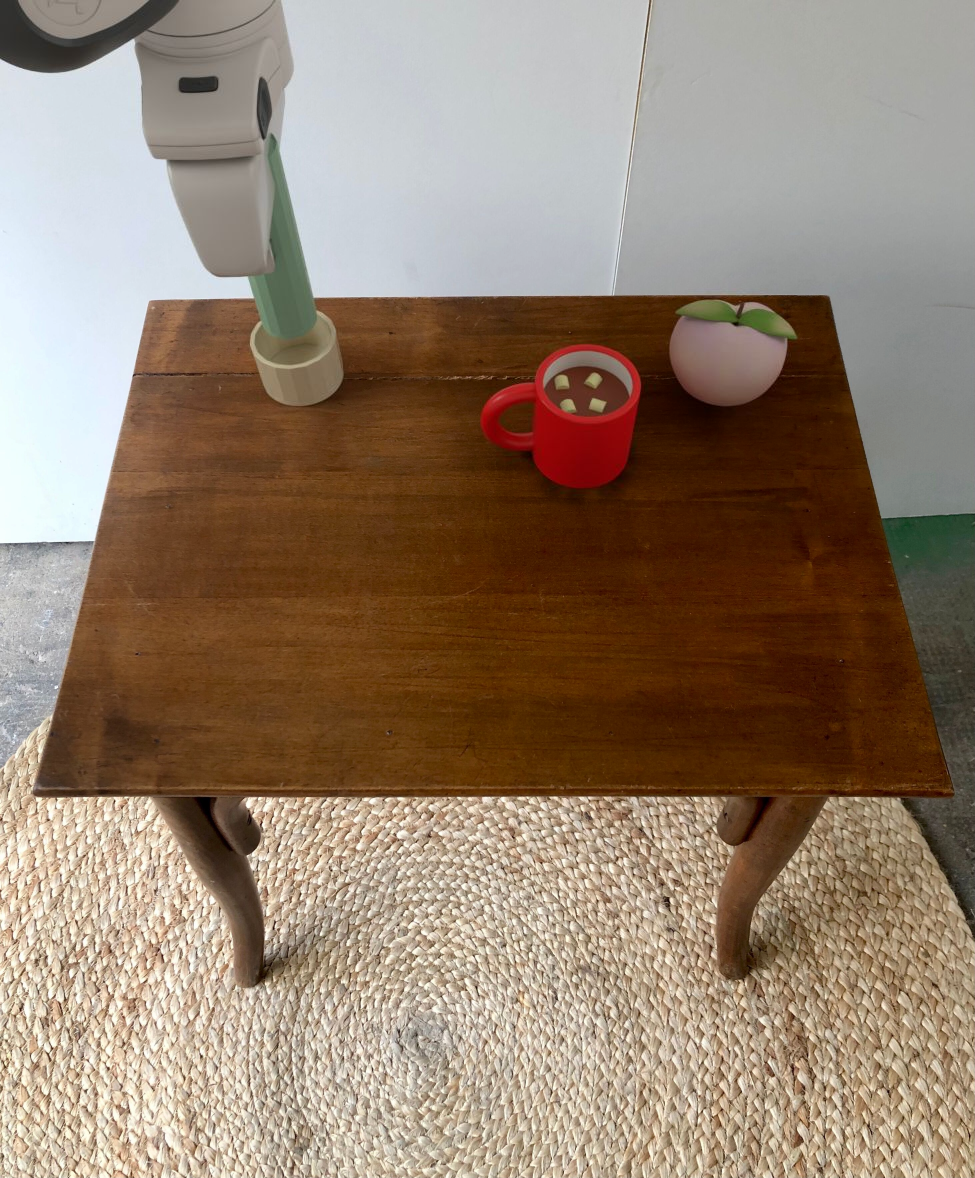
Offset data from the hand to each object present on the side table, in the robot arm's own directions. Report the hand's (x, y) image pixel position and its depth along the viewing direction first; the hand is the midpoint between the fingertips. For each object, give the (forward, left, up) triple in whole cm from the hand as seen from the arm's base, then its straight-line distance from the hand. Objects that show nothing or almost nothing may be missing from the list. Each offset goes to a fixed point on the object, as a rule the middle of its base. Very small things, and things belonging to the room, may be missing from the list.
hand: (267, 240), depth 66 cm
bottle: (0, 0, -8) cm, 8 cm away
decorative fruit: (+35, -5, -14) cm, 38 cm away
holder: (0, 0, -14) cm, 14 cm away
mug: (+21, -10, -14) cm, 27 cm away
